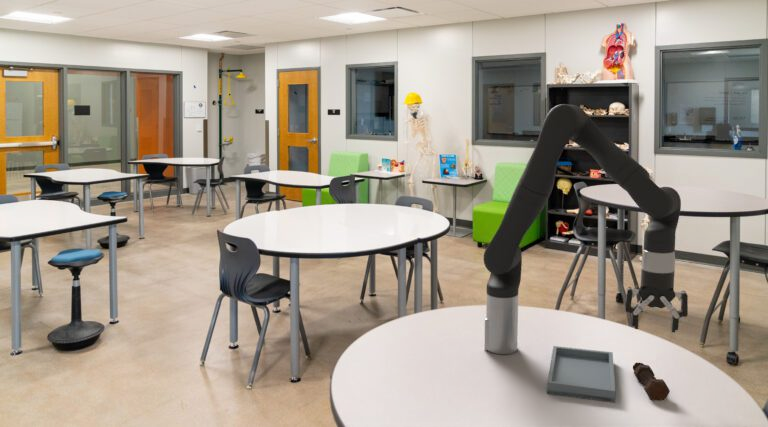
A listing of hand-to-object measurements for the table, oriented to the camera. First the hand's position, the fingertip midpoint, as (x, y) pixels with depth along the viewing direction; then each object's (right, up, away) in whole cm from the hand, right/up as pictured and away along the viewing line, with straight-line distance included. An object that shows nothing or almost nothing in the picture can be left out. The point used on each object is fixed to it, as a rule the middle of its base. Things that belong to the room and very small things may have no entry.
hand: (654, 329), depth 151 cm
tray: (-16, -14, +8) cm, 23 cm away
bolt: (-1, -16, +3) cm, 16 cm away
